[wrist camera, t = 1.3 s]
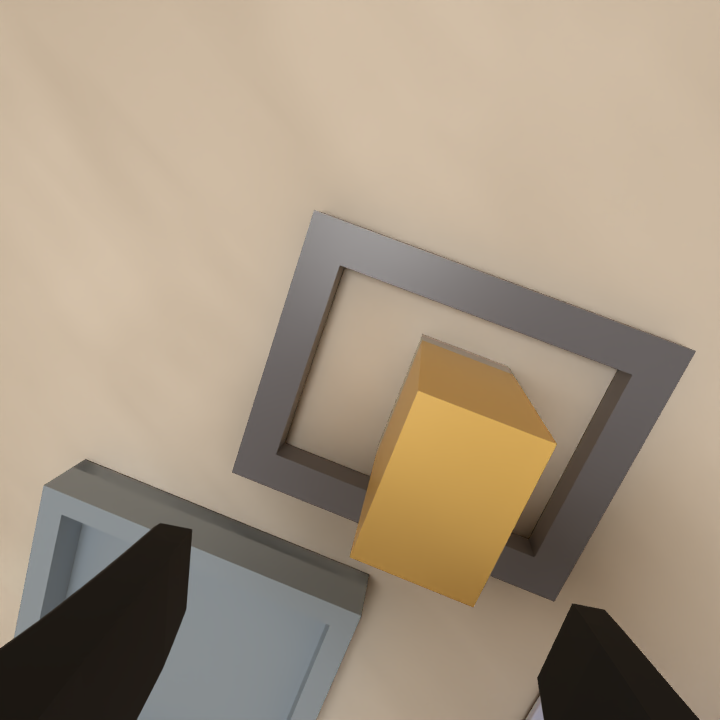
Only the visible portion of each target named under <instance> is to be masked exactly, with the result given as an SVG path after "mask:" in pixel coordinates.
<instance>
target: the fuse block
mask: <svg viewBox="0 0 720 720" xmlns="http://www.w3.org/2000/svg"><path fill="white" fill-rule="evenodd" d="M556 445H557V444H556V442H555V441H554V439H553V437H552V436H551V434H550V433H549V431H548V429H547V428H546V426H545V425H544V423H543V422H542V420H541V418H540V417H539V415H538V414H537V412H536V410H535V409H534V407H533V406H532V404H531V403H530V401H529V399H528V398H527V396H526V395H525V393H524V391H523V390H522V388H521V387H520V385H519V384H518V382H517V380H516V379H515V377H514V376H513V374H512V372H511V371H510V369H509V368H508V366H505V365H503V364H500V363H497V362H495V361H492V360H489V359H487V358H484V357H481V356H479V355H476V354H474V353H471V352H468V351H466V350H463V349H460V348H458V347H455V346H452V345H450V344H447V343H444V342H442V341H439V340H437V339H434V338H431V337H429V336H426V335H422V337H421V340H420V342H419V345H418V347H417V350H416V352H415V355H414V357H413V360H412V362H411V365H410V367H409V370H408V372H407V375H406V377H405V380H404V382H403V385H402V387H401V390H400V392H399V395H398V397H397V400H396V402H395V405H394V407H393V410H392V412H391V415H390V417H389V420H388V422H387V425H386V427H385V430H384V432H383V435H382V437H381V440H380V442H379V445H378V449H377V453H376V457H375V460H374V464H373V468H372V472H371V476H370V480H369V484H368V488H367V492H366V495H365V499H364V503H363V507H362V511H361V515H360V519H359V523H358V527H357V530H356V534H355V538H354V542H353V546H352V550H351V554H350V558H353V559H355V560H358V561H360V562H363V563H365V564H368V565H370V566H373V567H375V568H377V569H380V570H382V571H385V572H387V573H390V574H392V575H395V576H397V577H400V578H402V579H405V580H407V581H410V582H412V583H414V584H417V585H419V586H422V587H424V588H427V589H429V590H432V591H434V592H437V593H439V594H442V595H444V596H447V597H449V598H451V599H454V600H456V601H459V602H461V603H464V604H466V605H469V606H471V607H474V605H475V603H476V601H477V599H478V597H479V595H480V593H481V591H482V590H483V588H484V586H485V584H486V582H487V580H488V578H489V576H490V574H491V572H492V570H493V568H494V566H495V564H496V562H497V560H498V558H499V556H500V554H501V552H502V550H503V548H504V547H505V545H506V543H507V541H508V539H509V537H510V535H511V533H512V531H513V529H514V527H515V525H516V523H517V521H518V519H519V517H520V515H521V513H522V511H523V509H524V507H525V505H526V504H527V502H528V500H529V498H530V496H531V494H532V492H533V490H534V488H535V486H536V484H537V482H538V480H539V478H540V476H541V474H542V472H543V470H544V468H545V466H546V464H547V462H548V460H549V459H550V457H551V455H552V453H553V451H554V449H555V447H556Z"/></svg>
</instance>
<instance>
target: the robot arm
mask: <svg viewBox="0 0 720 720" xmlns="http://www.w3.org/2000/svg"><path fill="white" fill-rule="evenodd" d="M191 543H192V529H189V528H184V527H179V526H174V525H169V524H164V523H159V524H158V525H156V526H154V527H153V528H152V529H151V530H150V531H148V532H147V533H146V534H145V535H144V536H143V537H141V538H140V539H139V540H138V541H137V542H136V543H134V544H133V545H132V546H131V547H130V548H128V549H127V550H126V551H125V552H124V553H123V554H121V555H120V556H119V557H118V558H117V559H115V560H114V561H113V562H112V563H111V564H109V565H108V566H107V567H106V568H105V569H103V570H102V571H101V572H100V573H98V574H97V575H96V576H95V577H94V578H92V579H91V580H90V581H89V582H87V583H86V584H85V585H83V586H82V587H81V588H80V589H78V590H77V591H76V592H75V593H73V594H72V595H71V596H70V597H68V598H67V599H66V600H64V601H63V602H62V603H61V604H59V605H58V606H57V607H56V608H54V609H53V610H52V611H50V612H49V613H48V614H46V615H45V616H44V617H42V618H41V619H40V620H38V621H37V622H36V623H34V624H33V625H32V626H30V627H29V628H27V629H26V630H25V631H23V632H22V633H21V634H19V635H18V636H16V637H15V638H14V639H12V640H11V641H10V642H8V643H7V644H5V645H4V646H3V647H1V648H0V720H137V719H138V717H139V715H140V713H141V711H142V709H143V707H144V705H145V703H146V701H147V699H148V697H149V695H150V693H151V691H152V689H153V687H154V685H155V684H156V682H157V680H158V678H159V676H160V674H161V672H162V670H163V668H164V665H165V663H166V660H167V658H168V655H169V653H170V650H171V648H172V645H173V643H174V640H175V638H176V635H177V633H178V630H179V628H180V625H181V622H182V620H183V617H184V615H185V612H186V609H187V596H188V582H189V569H190V556H191ZM537 679H538V685H539V692H540V696H539V698H538V699H537V701H536V703H535V704H534V706H533V708H532V709H531V711H530V713H529V714H528V716H527V718H526V719H525V720H699V718H698V717H697V716H696V715H695V714H694V713H693V712H692V710H691V709H690V708H689V707H688V706H687V705H686V703H685V702H684V701H683V700H682V699H681V698H680V697H679V695H678V694H677V693H676V692H675V691H674V690H673V688H672V687H671V686H670V685H669V684H668V682H667V681H666V680H665V679H664V678H663V677H662V675H661V674H660V673H659V672H658V671H657V670H656V668H655V667H654V666H653V665H652V664H651V663H650V661H649V660H648V659H647V658H646V657H645V655H644V654H643V653H642V652H641V651H640V650H639V648H638V647H637V646H636V645H635V644H634V643H633V641H632V640H631V639H630V638H629V637H628V636H627V634H626V633H625V632H624V631H623V630H622V629H621V628H620V626H619V625H618V624H617V623H616V622H615V621H614V620H613V619H612V617H611V616H610V615H609V614H608V613H607V612H606V611H605V610H603V609H598V608H593V607H588V606H583V605H577V604H572V606H571V608H570V610H569V612H568V614H567V616H566V618H565V620H564V622H563V625H562V627H561V629H560V631H559V633H558V635H557V637H556V639H555V642H554V644H553V646H552V648H551V650H550V652H549V654H548V656H547V659H546V661H545V663H544V665H543V667H542V669H541V671H540V673H539V676H538V678H537Z"/></svg>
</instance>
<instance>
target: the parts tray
mask: <svg viewBox="0 0 720 720" xmlns="http://www.w3.org/2000/svg"><path fill="white" fill-rule="evenodd" d="M159 523H164V524H169V525H174V526H179V527H184V528H189V529H192V543H191V556H190V569H189V582H188V596H187V609H186V612H185V615H184V617H183V620H182V622H181V625H180V628H179V630H178V633H177V635H176V638H175V640H174V643H173V645H172V648H171V650H170V653H169V655H168V658H167V660H166V663H165V665H164V668H163V670H162V672H161V674H160V676H159V678H158V680H157V682H156V684H155V685H154V687H153V689H152V691H151V693H150V695H149V697H148V699H147V701H146V703H145V705H144V707H143V709H142V711H141V713H140V715H139V717H138V719H137V720H316V719H317V716H318V714H319V712H320V710H321V707H322V705H323V703H324V700H325V698H326V696H327V694H328V691H329V689H330V687H331V684H332V682H333V680H334V677H335V675H336V673H337V671H338V668H339V666H340V664H341V661H342V659H343V657H344V655H345V652H346V650H347V648H348V645H349V643H350V641H351V638H352V636H353V634H354V632H355V629H356V627H357V625H358V622H359V620H360V618H361V615H362V610H363V604H364V599H365V593H366V588H367V583H368V577H369V575H368V574H366V573H363V572H361V571H358V570H356V569H353V568H351V567H349V566H346V565H344V564H341V563H339V562H336V561H334V560H331V559H329V558H326V557H324V556H321V555H319V554H317V553H314V552H312V551H309V550H307V549H304V548H302V547H299V546H297V545H294V544H292V543H289V542H287V541H285V540H282V539H280V538H277V537H275V536H272V535H270V534H267V533H265V532H262V531H260V530H257V529H255V528H253V527H250V526H248V525H245V524H243V523H240V522H238V521H235V520H233V519H230V518H228V517H225V516H223V515H221V514H218V513H216V512H213V511H211V510H208V509H206V508H203V507H201V506H198V505H196V504H193V503H191V502H189V501H186V500H184V499H181V498H179V497H176V496H174V495H171V494H169V493H166V492H164V491H161V490H159V489H157V488H154V487H152V486H149V485H147V484H144V483H142V482H139V481H137V480H134V479H132V478H129V477H127V476H125V475H122V474H120V473H117V472H115V471H112V470H110V469H107V468H105V467H102V466H100V465H97V464H95V463H93V462H90V461H88V460H83V461H82V462H80V463H79V464H77V465H76V466H74V467H72V468H71V469H69V470H68V471H66V472H64V473H63V474H61V475H60V476H58V477H56V478H55V479H53V480H52V481H50V482H48V483H47V484H45V485H44V487H43V492H42V497H41V502H40V507H39V512H38V517H37V523H36V528H35V533H34V538H33V543H32V548H31V553H30V559H29V564H28V569H27V574H26V579H25V584H24V590H23V595H22V600H21V605H20V610H19V615H18V620H17V626H16V631H15V636H14V638H15V637H16V636H18V635H19V634H21V633H22V632H23V631H25V630H26V629H27V628H29V627H30V626H32V625H33V624H34V623H36V622H37V621H38V620H40V619H41V618H42V617H44V616H45V615H46V614H48V613H49V612H50V611H52V610H53V609H54V608H56V607H57V606H58V605H59V604H61V603H62V602H63V601H64V600H66V599H67V598H68V597H70V596H71V595H72V594H73V593H75V592H76V591H77V590H78V589H80V588H81V587H82V586H83V585H85V584H86V583H87V582H89V581H90V580H91V579H92V578H94V577H95V576H96V575H97V574H98V573H100V572H101V571H102V570H103V569H105V568H106V567H107V566H108V565H109V564H111V563H112V562H113V561H114V560H115V559H117V558H118V557H119V556H120V555H121V554H123V553H124V552H125V551H126V550H127V549H128V548H130V547H131V546H132V545H133V544H134V543H136V542H137V541H138V540H139V539H140V538H141V537H143V536H144V535H145V534H146V533H147V532H148V531H150V530H151V529H152V528H153V527H154V526H156V525H158V524H159Z"/></svg>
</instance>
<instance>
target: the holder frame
mask: <svg viewBox="0 0 720 720" xmlns="http://www.w3.org/2000/svg"><path fill="white" fill-rule="evenodd" d="M344 267H346V268H348V269H351V270H354V271H356V272H359V273H362V274H364V275H367V276H370V277H372V278H375V279H378V280H380V281H383V282H386V283H388V284H391V285H394V286H396V287H399V288H402V289H404V290H407V291H410V292H412V293H415V294H418V295H420V296H423V297H426V298H428V299H431V300H434V301H437V302H439V303H442V304H445V305H447V306H450V307H453V308H455V309H458V310H461V311H463V312H466V313H469V314H471V315H474V316H477V317H479V318H482V319H485V320H487V321H490V322H493V323H495V324H498V325H501V326H503V327H506V328H509V329H511V330H514V331H517V332H519V333H522V334H525V335H527V336H530V337H533V338H535V339H538V340H541V341H543V342H546V343H549V344H551V345H554V346H557V347H559V348H562V349H565V350H567V351H570V352H573V353H575V354H578V355H581V356H583V357H586V358H589V359H591V360H594V361H597V362H599V363H602V364H605V365H607V366H610V367H613V368H615V369H618V371H617V372H616V374H615V376H614V378H613V380H612V382H611V384H610V386H609V388H608V390H607V391H606V393H605V395H604V397H603V399H602V401H601V403H600V405H599V407H598V409H597V410H596V412H595V414H594V416H593V418H592V420H591V422H590V424H589V426H588V428H587V430H586V431H585V433H584V435H583V437H582V439H581V441H580V443H579V445H578V447H577V449H576V450H575V452H574V454H573V456H572V458H571V460H570V462H569V464H568V466H567V468H566V469H565V471H564V473H563V475H562V477H561V479H560V481H559V483H558V485H557V487H556V489H555V490H554V492H553V494H552V496H551V498H550V500H549V502H548V504H547V506H546V508H545V509H544V511H543V513H542V515H541V517H540V519H539V521H538V523H537V525H536V527H535V528H534V530H533V532H532V534H531V536H530V538H529V540H528V539H526V538H523V537H521V536H518V535H516V534H513V533H511V535H510V537H509V539H508V541H507V543H506V545H505V547H504V548H503V550H502V552H501V554H500V556H499V558H498V560H497V562H496V564H495V566H494V568H493V570H492V572H491V574H490V576H492V577H494V578H497V579H499V580H502V581H504V582H507V583H509V584H512V585H514V586H517V587H519V588H522V589H524V590H527V591H529V592H532V593H534V594H537V595H539V596H542V597H544V598H547V599H549V600H552V601H555V599H556V597H557V596H558V594H559V592H560V590H561V589H562V587H563V585H564V583H565V582H566V580H567V578H568V576H569V575H570V573H571V571H572V569H573V567H574V566H575V564H576V562H577V560H578V559H579V557H580V555H581V553H582V552H583V550H584V548H585V546H586V544H587V543H588V541H589V539H590V537H591V536H592V534H593V532H594V530H595V529H596V527H597V525H598V523H599V521H600V520H601V518H602V516H603V514H604V513H605V511H606V509H607V507H608V506H609V504H610V502H611V500H612V499H613V497H614V495H615V493H616V491H617V490H618V488H619V486H620V484H621V483H622V481H623V479H624V477H625V476H626V474H627V472H628V470H629V468H630V467H631V465H632V463H633V461H634V460H635V458H636V456H637V454H638V453H639V451H640V449H641V447H642V446H643V444H644V442H645V440H646V438H647V437H648V435H649V433H650V431H651V430H652V428H653V426H654V424H655V423H656V421H657V419H658V417H659V415H660V414H661V412H662V410H663V408H664V407H665V405H666V403H667V401H668V400H669V398H670V396H671V394H672V393H673V391H674V389H675V387H676V385H677V384H678V382H679V380H680V378H681V377H682V375H683V373H684V371H685V370H686V368H687V366H688V364H689V362H690V361H691V359H692V357H693V355H694V354H695V352H696V351H694V350H692V349H689V348H687V347H684V346H682V345H679V344H677V343H674V342H671V341H669V340H666V339H663V338H661V337H658V336H655V335H653V334H650V333H647V332H644V331H642V330H639V329H636V328H634V327H631V326H628V325H625V324H623V323H620V322H617V321H615V320H612V319H609V318H606V317H604V316H601V315H598V314H596V313H593V312H590V311H588V310H585V309H582V308H579V307H577V306H574V305H571V304H569V303H566V302H563V301H560V300H558V299H555V298H552V297H550V296H547V295H544V294H542V293H539V292H536V291H533V290H531V289H528V288H525V287H523V286H520V285H517V284H514V283H512V282H509V281H506V280H504V279H501V278H498V277H496V276H493V275H490V274H487V273H485V272H482V271H479V270H477V269H474V268H471V267H468V266H466V265H463V264H460V263H458V262H455V261H452V260H449V259H447V258H444V257H441V256H439V255H436V254H433V253H431V252H428V251H425V250H422V249H420V248H417V247H414V246H412V245H409V244H406V243H403V242H401V241H398V240H395V239H393V238H390V237H387V236H385V235H382V234H379V233H376V232H374V231H371V230H368V229H366V228H363V227H360V226H357V225H355V224H352V223H349V222H347V221H344V220H341V219H339V218H336V217H333V216H330V215H328V214H325V213H322V212H319V211H316V210H314V212H313V215H312V218H311V222H310V225H309V228H308V231H307V234H306V238H305V241H304V244H303V247H302V250H301V254H300V257H299V260H298V263H297V266H296V270H295V273H294V276H293V279H292V282H291V285H290V289H289V292H288V295H287V298H286V301H285V305H284V308H283V311H282V314H281V317H280V321H279V324H278V327H277V330H276V333H275V337H274V340H273V343H272V346H271V349H270V353H269V356H268V359H267V362H266V365H265V369H264V372H263V375H262V378H261V381H260V384H259V388H258V391H257V394H256V397H255V400H254V404H253V407H252V410H251V413H250V416H249V420H248V423H247V426H246V429H245V432H244V436H243V439H242V442H241V445H240V448H239V452H238V455H237V458H236V461H235V464H234V468H233V471H232V473H235V474H237V475H240V476H242V477H245V478H247V479H250V480H252V481H255V482H257V483H260V484H262V485H265V486H267V487H270V488H272V489H275V490H277V491H280V492H282V493H285V494H287V495H290V496H292V497H295V498H297V499H300V500H302V501H305V502H307V503H310V504H312V505H315V506H317V507H320V508H322V509H325V510H327V511H330V512H332V513H335V514H337V515H340V516H342V517H345V518H347V519H350V520H352V521H355V522H357V523H359V519H360V515H361V511H362V507H363V503H364V499H365V495H366V492H367V488H368V484H369V480H370V477H369V476H367V475H364V474H362V473H359V472H357V471H354V470H352V469H349V468H346V467H344V466H341V465H339V464H336V463H334V462H331V461H329V460H326V459H324V458H321V457H319V456H316V455H314V454H311V453H309V452H306V451H304V450H301V449H298V448H296V447H293V446H291V445H288V444H286V443H285V440H286V437H287V434H288V431H289V428H290V425H291V422H292V419H293V417H294V414H295V411H296V408H297V405H298V402H299V399H300V396H301V393H302V390H303V387H304V384H305V381H306V378H307V375H308V372H309V370H310V367H311V364H312V361H313V358H314V355H315V352H316V349H317V346H318V343H319V340H320V337H321V334H322V331H323V328H324V325H325V323H326V320H327V317H328V314H329V311H330V308H331V305H332V302H333V299H334V296H335V293H336V290H337V287H338V284H339V281H340V278H341V275H342V273H343V270H344Z"/></svg>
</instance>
